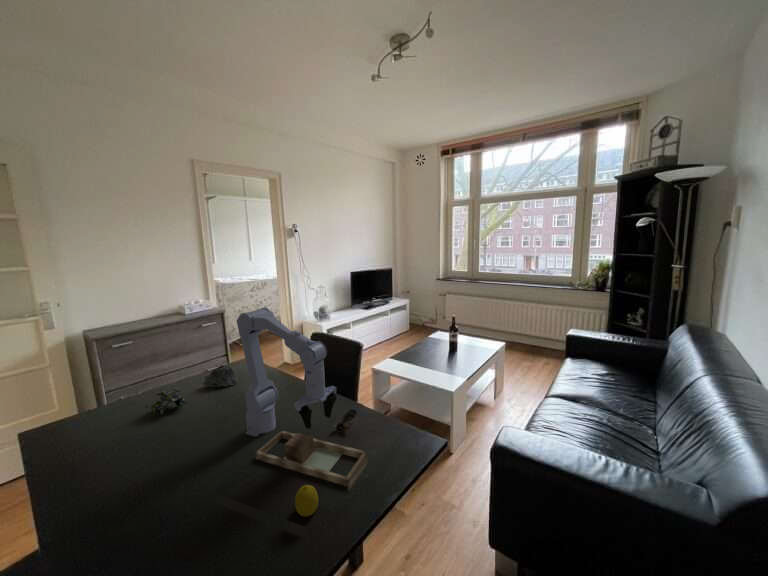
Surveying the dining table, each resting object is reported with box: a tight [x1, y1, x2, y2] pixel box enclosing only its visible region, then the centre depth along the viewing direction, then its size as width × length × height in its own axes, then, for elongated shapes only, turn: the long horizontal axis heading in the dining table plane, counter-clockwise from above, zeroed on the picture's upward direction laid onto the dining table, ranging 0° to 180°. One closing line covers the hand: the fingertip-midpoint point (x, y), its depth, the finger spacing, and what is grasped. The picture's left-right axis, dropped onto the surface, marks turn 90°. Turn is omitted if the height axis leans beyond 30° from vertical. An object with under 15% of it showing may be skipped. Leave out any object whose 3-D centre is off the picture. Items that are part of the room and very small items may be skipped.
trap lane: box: [254, 430, 369, 492], centre depth 98 cm, size 32×12×4 cm, turn 68°
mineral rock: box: [202, 364, 238, 388], centre depth 151 cm, size 13×11×10 cm
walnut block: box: [284, 432, 314, 464], centre depth 99 cm, size 6×6×5 cm
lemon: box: [294, 484, 319, 518], centre depth 79 cm, size 6×6×8 cm
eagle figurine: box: [332, 408, 358, 434], centre depth 114 cm, size 8×7×9 cm
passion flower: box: [145, 387, 188, 416], centre depth 129 cm, size 11×11×12 cm
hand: (318, 421), depth 102 cm, fingers open, 7 cm apart
